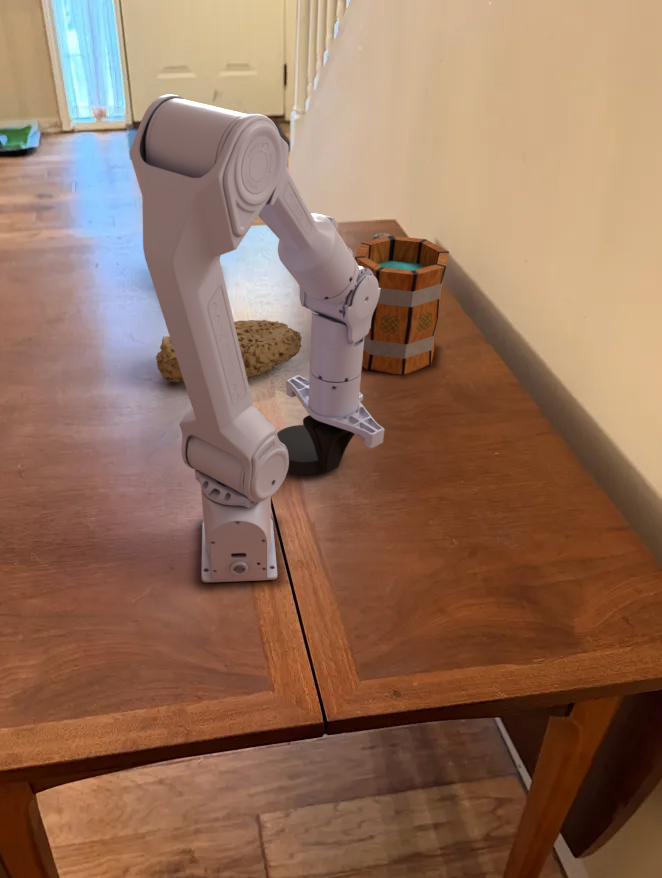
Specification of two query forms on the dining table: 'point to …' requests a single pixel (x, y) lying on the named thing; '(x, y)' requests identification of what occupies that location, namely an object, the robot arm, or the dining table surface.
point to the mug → (403, 302)
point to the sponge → (244, 348)
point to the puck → (299, 450)
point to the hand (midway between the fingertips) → (329, 467)
